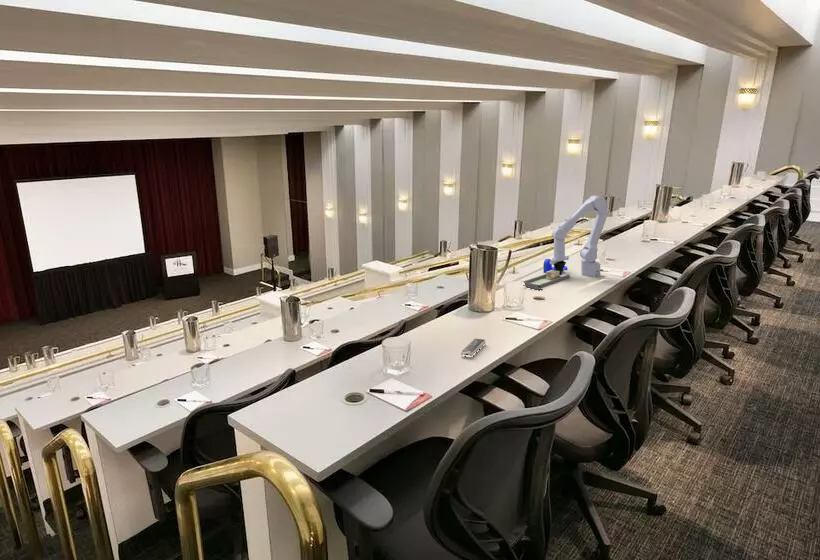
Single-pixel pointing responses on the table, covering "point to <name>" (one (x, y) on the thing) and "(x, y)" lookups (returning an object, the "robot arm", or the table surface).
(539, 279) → the box
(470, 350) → the multiport hub
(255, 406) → the table surface
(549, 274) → the block
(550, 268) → the bracket
